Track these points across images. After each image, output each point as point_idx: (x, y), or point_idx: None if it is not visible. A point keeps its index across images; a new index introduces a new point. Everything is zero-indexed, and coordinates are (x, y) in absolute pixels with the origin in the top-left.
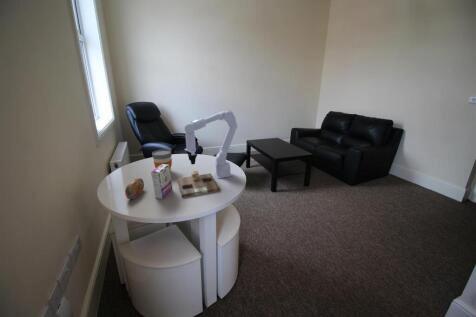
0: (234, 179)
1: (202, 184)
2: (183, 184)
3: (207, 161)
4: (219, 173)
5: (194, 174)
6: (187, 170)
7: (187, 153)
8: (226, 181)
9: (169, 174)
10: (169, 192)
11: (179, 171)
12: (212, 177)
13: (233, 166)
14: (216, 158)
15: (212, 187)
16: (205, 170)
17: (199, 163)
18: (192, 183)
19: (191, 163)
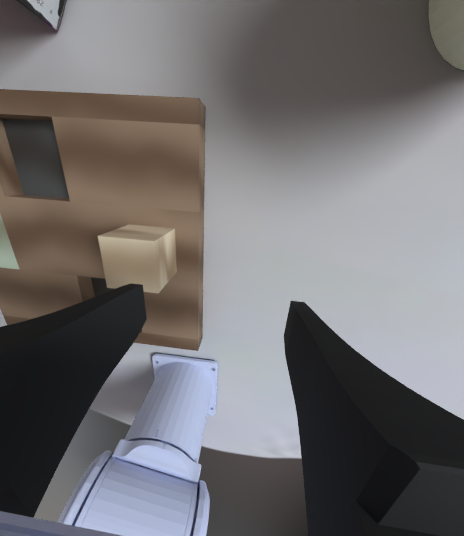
0: (126, 402)
1: (53, 262)
2: (68, 135)
3: (442, 398)
4: (152, 386)
5: (103, 252)
6: (380, 238)
7: (339, 382)
8: (115, 371)
9: None
10: None
11: (409, 166)
12: (136, 339)
13: (270, 454)
14: (112, 511)
15: (11, 298)
16: None
17: (451, 349)
18: (75, 207)
19: (119, 290)
